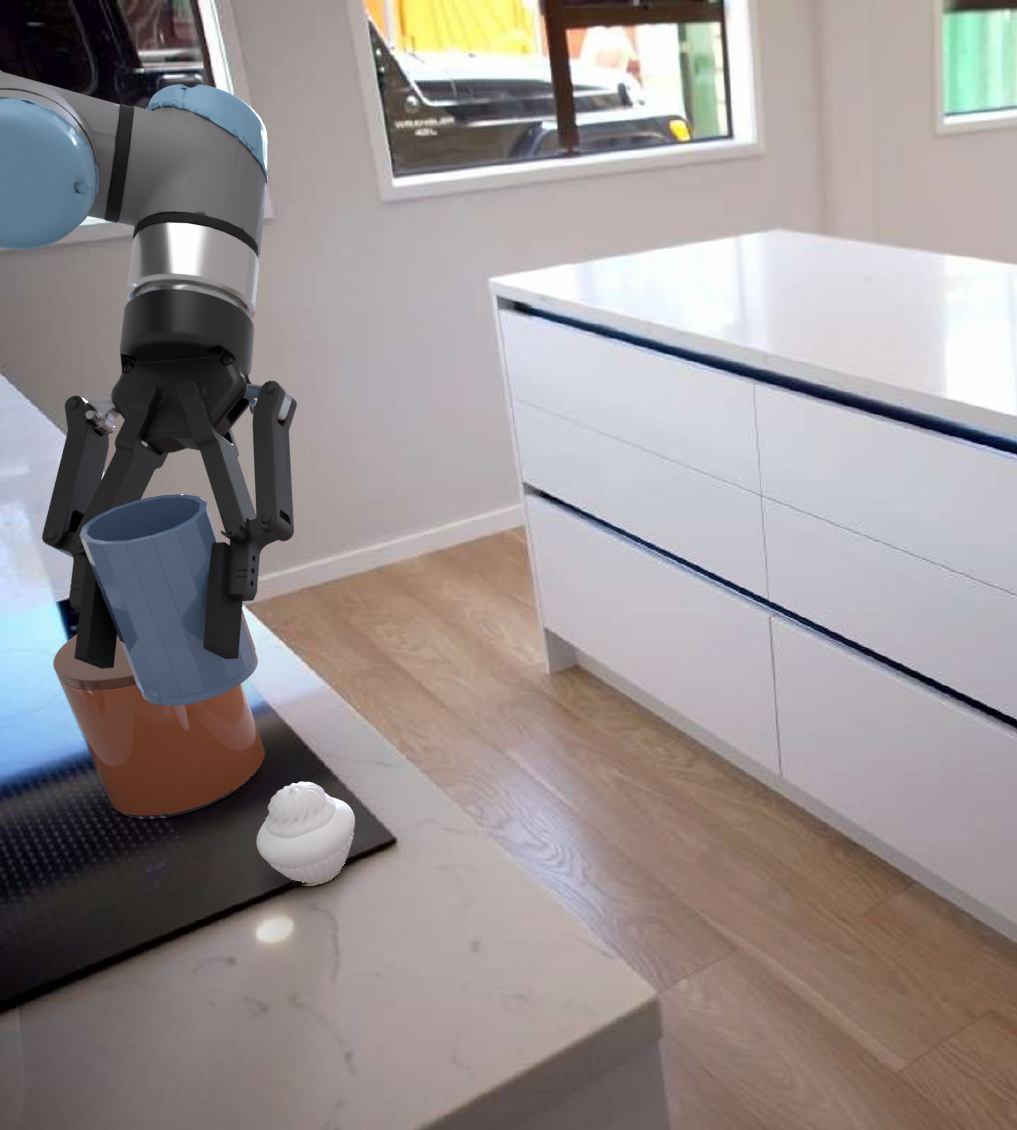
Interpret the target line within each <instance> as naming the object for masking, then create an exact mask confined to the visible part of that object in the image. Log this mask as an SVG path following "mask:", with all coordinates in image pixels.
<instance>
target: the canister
mask: <svg viewBox="0 0 1017 1130" xmlns="http://www.w3.org/2000/svg"><path fill="white" fill-rule="evenodd" d="M76 639H77V634H76V635H74V636H73V637H71V638H69V640H67V641H66V642H65V643H63V645H62V646H61V647H60V648H59V649H58V650H57V652H56V653H55V656H54V658H53V662H52V665H53V670H54V672H55V675H56V677H57V680H58V682H59V683H60V687H61V689H62V691H63V693H64V696H65V698H66V701H67V704H68V706H69V709H70V711H71V713H72V716H73V717H74V720H75V723H76V725H77V728H78V730H79V732H80V734H81V737H82V739H83V742H84V744H85V746H86V749H87V751H88V754H89V756H90V758H91V759H90V760H91V761H92V763H93V766H94V768H95V770H96V773H97V776H98V778H99V780H100V782H101V785H102V788H103V789H104V792H105V794H106V796H107V800H108V802H109V804H110V803H111V804H110V806H111V805H112V806H113V807H114V808H115V809H116V810H118V811H120V812H122V813H125V814H131V815H139V816H140V815H141V816H142V815H143V816H144V815H145V816H146V815H147V816H149V815H152V816H153V815H159V814H160V815H161V814H173V813H178V812H182V811H186V810H189V809H193V808H195V807H200V806H202V805H205V804H208V803H210V802H211V801H214V800H216V799H218V798H220V797H222V796H224V795H225V794H227V793H229V792H230V791H234V790H236V789H237V788H239V786H241V785H242V784H244V783H245V781H247V780H249V778H250V776H253V774H254V773H255V772H256V770H257V769H258V768H259V767H260V765H261V763H262V761H263V759H264V754H265V755H266V749H265V746H264V744H263V740H262V737H261V734H260V732H259V728H258V725H257V722H256V720H255V716H254V714H253V711H252V707H251V705H250V702H249V699H248V697H247V693H246V690H245V687H244V684H243V683H241V684H240V685H238V686H237V687H235V688H233V689H231V690H229V691H227V692H225V693H223V694H221V695H218V696H216V697H213V698H210V699H207V700H204V701H200V702H196V703H191V704H185V705H177V706H164V705H157V704H153V703H150V702H148V701H147V700H146V699H144V697H143V696H142V694H141V691H140V689H139V688H138V686H137V684H136V681H135V679H134V676H133V673H132V671H131V668H130V666H129V663H128V660H127V658H126V655H125V653H124V650H123V647H122V645H121V642H120V640H119V637H118V634H117V642H116V651H115V660H114V668H105V669H101V668H98V667H96V666H93V665H90V664H88V663H85V662H83V661H80V660H78V659H75V658H74V656H75V647H76ZM264 749H265V750H264ZM264 760H265V759H264ZM112 806H111V807H112ZM113 807H112V808H113Z"/></svg>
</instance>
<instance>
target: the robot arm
mask: <svg viewBox="0 0 1017 1130" xmlns="http://www.w3.org/2000/svg"><path fill="white" fill-rule="evenodd" d="M267 148H268V136H267V130H266V127H265V125H264V123H263V121H262V118H261V117H260V115H258V113H257V112H256V111H255V109H253V108H252V107H251V106H250V105H249V104H248V103H246V102H245V101H243V100H242V99H241V98H239V97H238V96H236V95H234V94H232V93H231V92H227V91H225V90H223V89H220V88H217V87H213V86H210V85H206V84H196V85H195V86H193V87H188V86H186V85H184V84H181V83H179V84H172V85H168V86H166V87H164V88H161V89H159V90H158V91H156V93H154V94H153V95H152V97H151V98H150V100H149V103H148V106H146V107H145V108H143V107H139V106H135V105H133V106H130V105H127V104H124V103H123V104H120V103H119V104H118V103H115V102H111V101H107V100H104V99H100V98H97V97H93V96H89V95H86V94H83V93H79V92H75V91H73V90H69V89H66V88H62V87H58V86H54V85H51V84H48V83H44V82H41V81H36V80H33V79H30V78H25V77H23V76H18V75H15V74H11V73H7V72H5V71H2V70H1V69H0V248H2V249H7V250H17V251H18V250H20V251H21V250H22V251H23V250H33V249H40V248H43V247H46V246H50V245H53V244H55V243H57V242H59V241H61V240H63V239H64V238H65V237H68V235H70V234H71V233H72V232H74V230H75V229H77V228H78V227H79V226H80V225H81V224H82V223H83V222H84V221H85V220H87V218H88V217H90V218H96V219H100V220H104V221H106V222H109V223H116V224H118V223H120V224H124V225H127V226H132V227H133V234H132V241H131V249H130V258H129V265H128V273H127V280H126V289H125V297H126V300H127V303H126V304H125V305H124V309H123V316H122V324H121V325H122V326H121V335H120V343H119V358H120V364H121V365H120V366H121V372H120V373H121V374H120V376H119V378H118V380H117V381H116V383H115V384H114V385H113V387H112V390H111V394H107V395H104V396H100V397H96V398H94V399H90V400H86V399H85V398H83V397H82V396H80V395H72V396H70V397H68V399H66V400H65V403H64V412H65V419H66V426H67V433H66V436H65V441H64V445H63V449H62V452H61V453H62V454H61V457H60V462H59V465H58V470H57V474H56V478H55V481H54V485H53V489H52V494H51V497H50V501H49V506H48V510H47V514H46V518H45V522H44V526H43V529H42V530H43V531H42V533H41V539H42V542H43V543H44V544H45V545H47V546H49V547H51V548H53V549H55V550H56V551H58V552H61V553H62V554H65V555H66V556H69V557H71V558H72V561H73V562H72V570H71V579H70V586H69V589H70V590H69V595H68V600H69V604H70V607H71V608H73V609H75V610H77V611H79V615H78V622H77V623H78V624H77V632H76V635H77V639H76V647H75V656H74V658H75V659H78V660H80V661H83V662H85V663H88V664H90V665H93V666H96V667H98V668H101V669H105V668H114V660H115V651H116V642H117V632H116V629H115V627H114V624H113V621H112V619H111V616H110V614H109V611H108V608H107V606H106V603H105V601H104V598H103V595H102V593H101V590H100V588H99V585H98V582H97V580H96V577H95V575H94V572H93V569H92V567H91V564H90V562H89V559H88V556H87V554H86V551H85V549H84V546H83V543H82V541H81V538H80V533H81V530H82V527H83V526H84V525H85V524H86V523H88V522H89V521H90V520H91V519H93V518H94V517H96V516H98V515H100V514H102V513H104V512H106V511H108V510H110V509H112V508H115V507H117V506H120V505H123V504H127V503H130V502H133V501H136V500H140V499H143V497H144V494H145V492H146V490H147V488H148V485H149V483H150V481H151V479H152V477H153V475H154V473H155V471H156V470H158V469H161V468H162V467H163V466H164V464H165V462H166V460H167V458H168V456H169V454H171V453H177V452H180V451H184V450H186V449H189V450H195V451H199V452H200V455H201V459H202V461H203V465H204V468H205V472H206V474H207V478H208V481H209V485H210V487H211V491H212V494H213V497H214V501H215V503H216V507H217V509H218V514H219V516H220V520H221V523H222V525H223V529H224V531H223V530H220V534H221V535H222V536H224V537H225V538H227V539H228V540H229V544H228V543H227V542H226V541H220V542H218V543H212V551H211V562H210V574H209V585H208V597H207V608H206V620H205V632H204V643H203V649H205V650H208V651H210V652H212V653H214V654H216V655H218V656H220V657H222V658H224V659H236V658H238V655H239V643H240V630H241V617H242V610H243V604H244V602H251V601H252V602H253V601H254V600H255V598H256V596H257V593H258V585H259V583H258V582H259V570H260V558H261V552H262V551H263V549H264V548H265V547H266V546H268V545H270V544H272V543H275V542H277V541H280V542H286V541H289V540H291V539H292V537H293V536H294V533H295V523H294V504H293V503H294V502H293V501H294V500H293V489H292V488H293V483H292V464H291V445H290V428H291V425H292V423H293V419H294V416H295V413H296V410H297V407H298V402H297V400H296V398H294V397H293V396H292V395H291V393H289V392H288V391H287V390H286V389H285V388H284V387H283V386H282V385H281V384H279V382H278V381H276V380H268V381H266V382H264V383H263V384H262V385H260V384H253V383H252V382H251V379H250V377H249V376H250V373H251V371H252V366H253V365H252V364H253V352H254V339H255V324H254V323H253V320H254V319H255V315H256V309H257V298H258V284H259V273H260V272H259V271H260V257H261V247H262V236H263V228H264V227H263V226H264V219H265V217H264V215H265V206H266V195H267V187H268V183H269V182H268V181H269V173H268V168H267V167H268V149H267ZM247 409H249V412H250V413H251V415H252V446H253V468H254V469H253V470H254V493H255V494H254V495H255V508H254V505H253V502H252V498H251V495H250V491H249V489H248V486H247V482H246V479H245V477H244V474H243V470H242V467H241V464H240V461H239V457H240V452H239V449H238V446H237V442H236V440H235V437H234V434H233V433H234V432H233V430H232V427H233V426H234V425H235V424H236V423H237V422H238V420H239V419H240V418H241V416H242V415H243V414H244V413H245V412H246V411H247ZM118 416H121V417H122V418H123V420H124V421H123V423H122V425H121V427H120V429H119V431H118V433H117V435H116V436H115V439H114V447H115V451H114V454H113V456H112V457H111V459H110V462H109V464H108V466H107V467H106V462H107V458H108V454H109V447H110V435H112V434H114V433H115V432H116V426H115V421H116V418H117V417H118ZM143 443H144V444H143ZM105 467H106V470H105ZM104 471H105V472H104Z"/></svg>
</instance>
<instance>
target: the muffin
mask: <svg viewBox="0 0 1017 1130" xmlns="http://www.w3.org/2000/svg"><path fill="white" fill-rule="evenodd" d="M275 793H276V794H274V795H272V797H271V798H270V801H269V802H270V803H268V806H267V810H268V815H267V816H266V817H265V820H264V822H263V823H262V825H261V827H260V828H259V830H258V832H257V836H256V848H257V851H258V853H259V854H260V856H261V857H262V858H263V859H264V860H265V861H266V862H267V863H268V864H269V865H270V866H271V868H273V869H274V870H276V871H277V872H279V874H282V875H283V876H285V877H286V878H287V879H289V878H290V879H289V880H291V881H292V880H295V881H299V882H300V881H301V882H302V883H304V882H305V883H306V882H307V883H311V882H314V883H316V882H318V881H319V882H321V881H323V880H324V879H329V877H332V876H334V874H337V873H338V871H340V870H341V868H342V866H344V864H345V865H346V863H345V861H346V862H347V860H348V856H349V853H350V849H351V847H352V843H353V840H354V835H355V832H354V830H355V826H356V817H355V813H354V811H353V809H352V808H351V807H350V805H349V804H348V803H346V802H345V801H343V800H341V799H338V798H335V797H332V796H330V795H329V794H327V793H326V792H325V790H324V788H323V787H321V786H320V785H318V784H316V783H314V782H312V781H311V782H310V781H299V782H297V783H294V782H292V783H291V784H290V785H285V786H283V788H282V789H279V790H277V791H276V792H275ZM346 859H347V860H346ZM344 867H345V866H344Z"/></svg>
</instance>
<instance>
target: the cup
mask: <svg viewBox="0 0 1017 1130" xmlns="http://www.w3.org/2000/svg"><path fill="white" fill-rule="evenodd" d="M80 538H81V541H82V543H83V546H84V549H85V551H86V554H87V556H88V559H89V562H90V564H91V567H92V569H93V572H94V575H95V577H96V580H97V582H98V585H99V588H100V590H101V593H102V595H103V598H104V601H105V603H106V606H107V608H108V611H109V614H110V616H111V619H112V621H113V624H114V627H115V629H116V632H117V634H118V637H119V640H120V642H121V645H122V647H123V650H124V653H125V655H126V658H127V660H128V663H129V666H130V668H131V671H132V673H133V676H134V679H135V681H136V684H137V686H138V688H139V689H140V691H141V694H142V696H143V697H144V699H146V700H147V701H148V702H150V703H153V704H157V705H164V706H177V705H185V704H191V703H196V702H200V701H204V700H207V699H210V698H213V697H216V696H218V695H221V694H223V693H225V692H227V691H229V690H231V689H233V688H235V687H237V686H238V685H240V684H241V683H242V684H243V683H244V682H245V681H246V680H247V679H249V678H250V677H251V676H252V675H253V674H254V672H255V671H256V669H257V668H258V663H259V658H258V656H257V652H256V647H255V644H254V641H253V637H252V635H251V632H250V628H249V626H248V622H247V620H246V616H245V613H244V610H243V609H242V617H241V630H240V643H239V655H238V658H236V659H224V658H222V657H220V656H218V655H216V654H214V653H212V652H210V651H208V650H205V649H203V643H204V632H205V620H206V608H207V597H208V585H209V574H210V562H211V551H212V543H218V542H221V541H220V537H219V534H218V532H217V528H216V525H215V522H214V519H213V516H212V513H211V510H210V508H209V504H208V501H206V500H205V499H204V498H202V497H200V496H198V495H193V494H187V493H186V494H185V493H178V494H175V493H174V494H163V495H156V496H152V497H146V498H141V499H140V500H136V501H133V502H130V503H127V504H123V505H120V506H117V507H115V508H112V509H110V510H108V511H106V512H104V513H102V514H100V515H98V516H96V517H94V518H93V519H91V520H90V521H89V522H88V523H86V524H85V525H84V526H83V527H82V530H81V533H80Z"/></svg>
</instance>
